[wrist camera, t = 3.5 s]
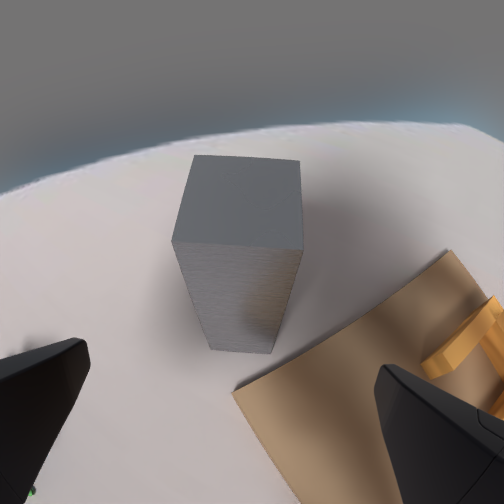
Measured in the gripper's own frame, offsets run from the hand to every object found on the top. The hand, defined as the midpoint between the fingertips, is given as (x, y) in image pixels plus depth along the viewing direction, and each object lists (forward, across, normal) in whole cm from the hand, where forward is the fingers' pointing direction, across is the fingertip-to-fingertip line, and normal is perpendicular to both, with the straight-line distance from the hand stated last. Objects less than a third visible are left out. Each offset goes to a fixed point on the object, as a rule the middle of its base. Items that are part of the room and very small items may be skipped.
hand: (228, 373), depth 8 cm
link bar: (+12, 0, +4) cm, 13 cm away
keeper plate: (+8, -13, +8) cm, 18 cm away
